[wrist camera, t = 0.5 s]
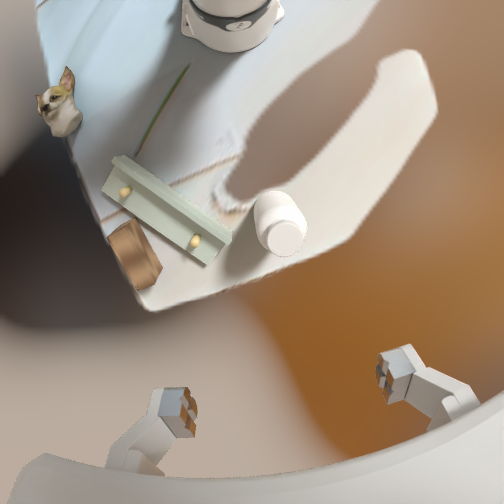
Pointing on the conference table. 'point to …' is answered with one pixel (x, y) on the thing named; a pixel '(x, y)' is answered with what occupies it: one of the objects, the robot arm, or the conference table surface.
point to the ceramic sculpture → (60, 106)
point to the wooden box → (135, 254)
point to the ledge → (166, 209)
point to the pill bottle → (279, 223)
